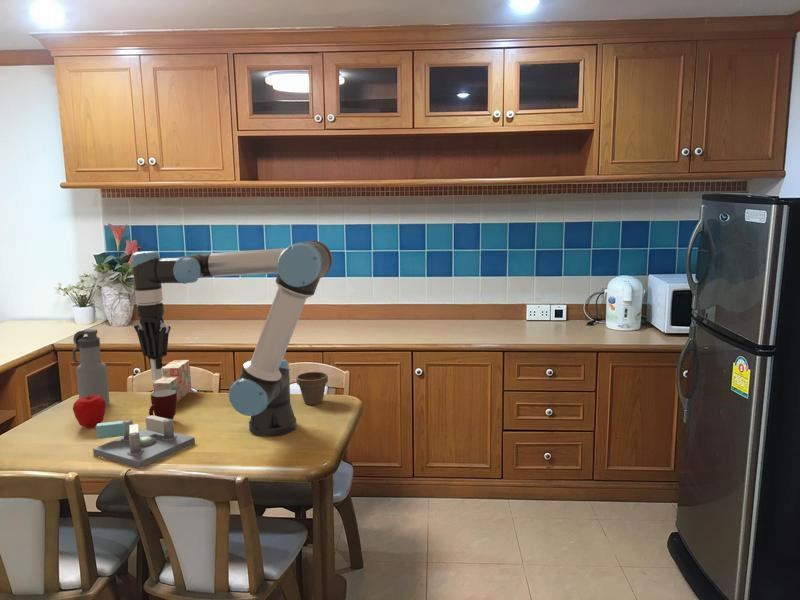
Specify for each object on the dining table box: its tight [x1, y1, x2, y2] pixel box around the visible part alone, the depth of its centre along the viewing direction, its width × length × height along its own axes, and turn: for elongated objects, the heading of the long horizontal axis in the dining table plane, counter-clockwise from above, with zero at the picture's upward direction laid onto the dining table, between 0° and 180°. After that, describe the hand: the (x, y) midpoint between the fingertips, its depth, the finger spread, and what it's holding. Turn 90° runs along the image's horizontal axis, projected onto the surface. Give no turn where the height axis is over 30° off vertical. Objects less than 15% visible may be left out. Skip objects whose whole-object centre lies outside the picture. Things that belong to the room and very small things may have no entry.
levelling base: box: [92, 427, 196, 469], centre depth 185 cm, size 20×20×3 cm
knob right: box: [145, 414, 175, 439], centre depth 190 cm, size 10×3×5 cm, turn 62°
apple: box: [72, 395, 107, 429], centre depth 204 cm, size 10×10×11 cm
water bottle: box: [72, 328, 110, 407], centre depth 223 cm, size 10×10×28 cm
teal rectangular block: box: [95, 419, 134, 440], centre depth 187 cm, size 10×3×5 cm, turn 107°
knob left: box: [129, 423, 141, 453], centre depth 181 cm, size 10×3×5 cm, turn 24°
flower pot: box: [295, 371, 329, 406], centre depth 226 cm, size 12×11×10 cm
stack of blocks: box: [152, 359, 192, 403], centre depth 232 cm, size 21×6×12 cm, turn 179°
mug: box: [148, 389, 178, 421], centre depth 206 cm, size 11×8×10 cm
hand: (157, 378), depth 190 cm, fingers closed
